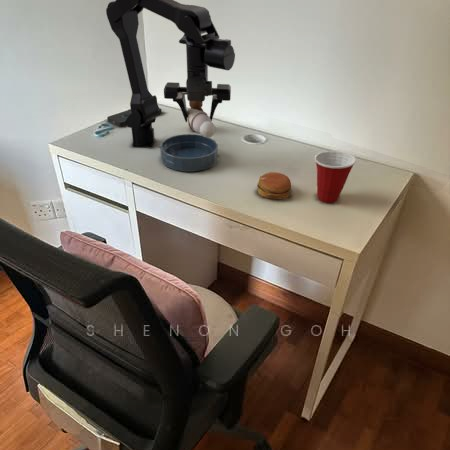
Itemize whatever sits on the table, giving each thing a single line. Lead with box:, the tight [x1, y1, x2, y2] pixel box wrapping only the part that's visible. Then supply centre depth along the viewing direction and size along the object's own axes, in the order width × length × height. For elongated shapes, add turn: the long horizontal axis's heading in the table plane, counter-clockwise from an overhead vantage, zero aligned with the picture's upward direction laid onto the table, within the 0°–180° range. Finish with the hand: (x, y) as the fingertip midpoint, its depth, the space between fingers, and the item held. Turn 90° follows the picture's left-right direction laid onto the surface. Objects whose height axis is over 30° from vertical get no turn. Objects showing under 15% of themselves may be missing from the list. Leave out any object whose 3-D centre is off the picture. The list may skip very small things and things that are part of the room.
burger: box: [256, 171, 292, 200], centre depth 118 cm, size 10×9×5 cm
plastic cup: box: [314, 150, 357, 204], centre depth 114 cm, size 11×11×12 cm
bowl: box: [159, 133, 219, 172], centre depth 132 cm, size 18×18×4 cm
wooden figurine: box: [187, 101, 205, 133], centre depth 145 cm, size 7×6×15 cm
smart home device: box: [106, 107, 162, 128], centre depth 157 cm, size 8×2×20 cm
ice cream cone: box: [186, 106, 216, 138], centre depth 123 cm, size 6×6×15 cm
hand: (198, 122), depth 124 cm, fingers closed on ice cream cone, 7 cm apart
